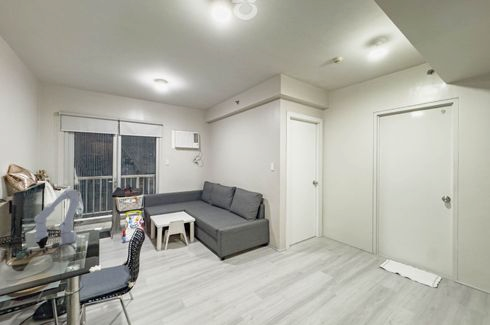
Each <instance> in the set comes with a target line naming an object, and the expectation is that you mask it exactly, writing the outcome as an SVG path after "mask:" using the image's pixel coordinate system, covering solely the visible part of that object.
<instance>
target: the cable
mask: <svg viewBox="0 0 490 325" xmlns="http://www.w3.org/2000/svg"><path fill="white" fill-rule="evenodd" d="M59 245H60V242H59V241H58V242H54V243H51V244H46V245H45V247H48V248H55V247H58V246H59ZM45 247H44V248H41V249H40V247H39V246H38V247H30V248H26V249H25V251H27V250H28V251H29V250H32V251H38V250H43V249H45Z"/></svg>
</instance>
